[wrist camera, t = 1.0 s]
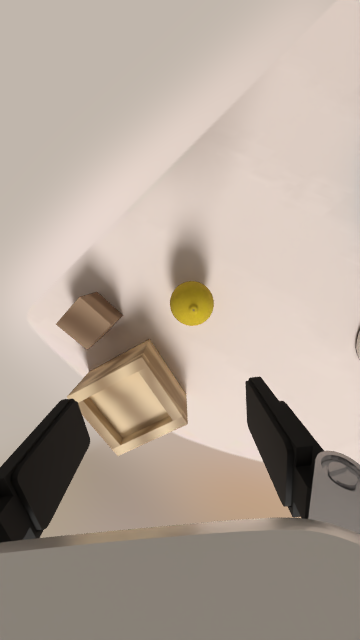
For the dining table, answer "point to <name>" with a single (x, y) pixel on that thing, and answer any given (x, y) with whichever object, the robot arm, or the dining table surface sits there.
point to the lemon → (191, 303)
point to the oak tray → (132, 399)
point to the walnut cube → (89, 319)
